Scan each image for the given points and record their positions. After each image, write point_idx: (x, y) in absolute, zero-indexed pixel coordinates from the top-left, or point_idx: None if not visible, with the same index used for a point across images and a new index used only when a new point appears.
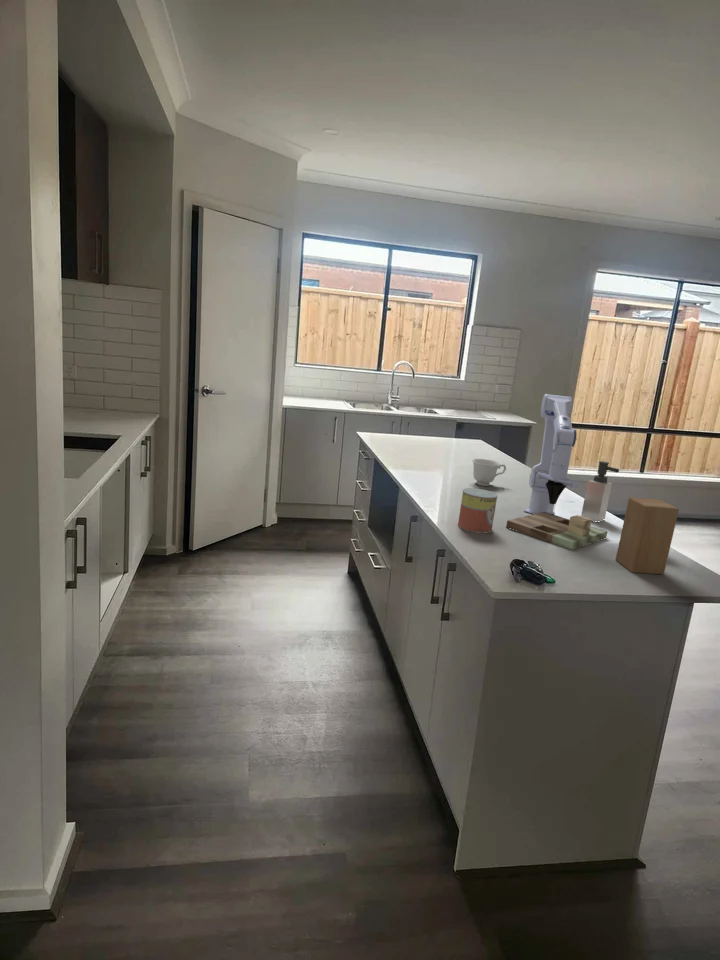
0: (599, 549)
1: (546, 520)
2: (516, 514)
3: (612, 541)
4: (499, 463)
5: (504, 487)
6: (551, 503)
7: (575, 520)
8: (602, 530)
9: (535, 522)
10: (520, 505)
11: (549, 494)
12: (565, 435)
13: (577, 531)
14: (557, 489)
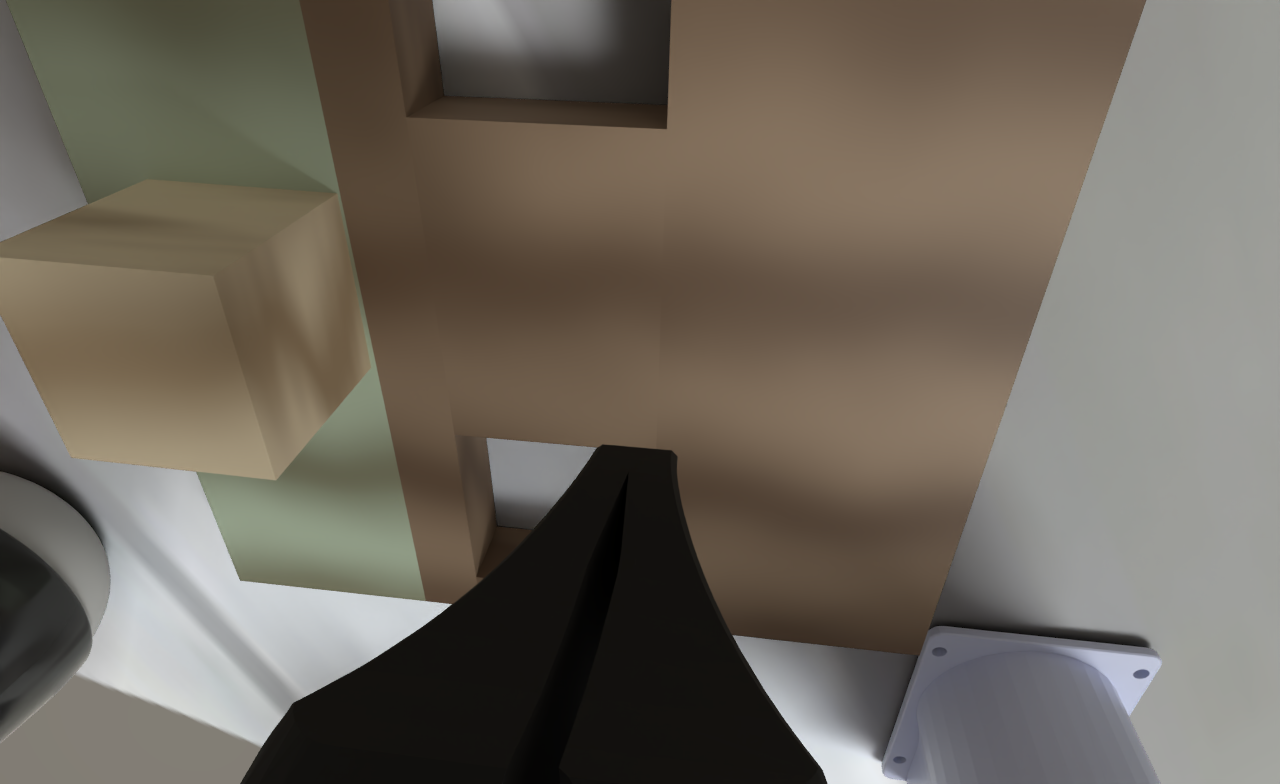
0: (9, 158)
1: (747, 391)
2: (1199, 502)
3: (204, 504)
4: None
5: None
6: (625, 450)
7: (139, 255)
8: (271, 568)
9: (797, 147)
10: (1234, 771)
11: (674, 564)
12: None
13: (182, 197)
14: (364, 676)
